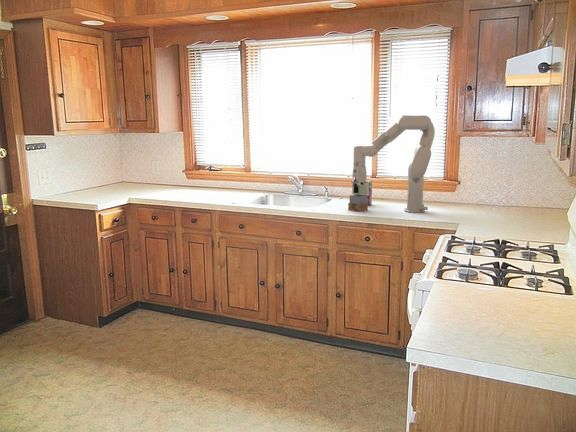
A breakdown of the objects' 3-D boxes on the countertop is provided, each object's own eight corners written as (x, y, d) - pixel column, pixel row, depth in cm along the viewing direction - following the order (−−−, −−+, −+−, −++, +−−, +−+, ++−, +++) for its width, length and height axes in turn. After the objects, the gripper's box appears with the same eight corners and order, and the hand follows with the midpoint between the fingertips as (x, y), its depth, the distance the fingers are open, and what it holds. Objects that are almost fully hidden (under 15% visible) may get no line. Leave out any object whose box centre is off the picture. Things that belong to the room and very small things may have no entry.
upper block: (367, 202, 328) (367, 195, 327) (359, 204, 322) (359, 196, 321) (357, 201, 333) (357, 193, 332) (349, 202, 328) (349, 195, 327)
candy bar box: (371, 204, 348) (372, 181, 345) (369, 205, 344) (370, 181, 341) (356, 203, 354) (356, 180, 350) (353, 204, 349) (354, 180, 346)
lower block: (367, 210, 329) (367, 202, 328) (360, 212, 322) (360, 204, 322) (355, 208, 335) (356, 201, 334) (348, 210, 328) (348, 203, 327)
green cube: (365, 193, 327) (365, 184, 326) (360, 194, 323) (360, 185, 322) (357, 192, 331) (357, 183, 330) (352, 193, 327) (352, 184, 326)
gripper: (356, 165, 315) (356, 194, 318) (371, 163, 327) (371, 191, 331) (346, 165, 319) (346, 193, 323) (361, 163, 332) (361, 190, 336)
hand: (358, 192), depth 327 cm, fingers closed on green cube, 5 cm apart
